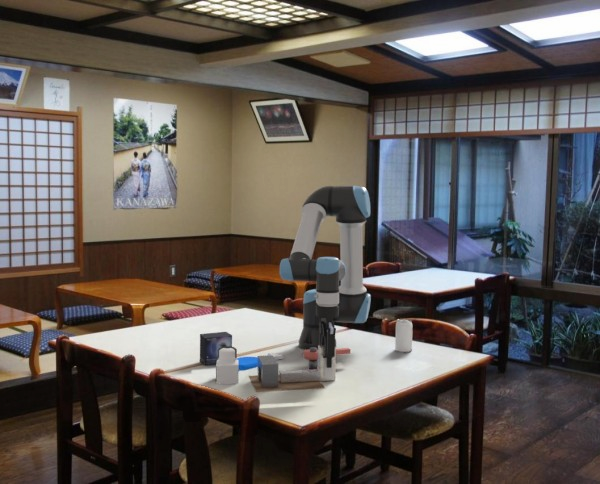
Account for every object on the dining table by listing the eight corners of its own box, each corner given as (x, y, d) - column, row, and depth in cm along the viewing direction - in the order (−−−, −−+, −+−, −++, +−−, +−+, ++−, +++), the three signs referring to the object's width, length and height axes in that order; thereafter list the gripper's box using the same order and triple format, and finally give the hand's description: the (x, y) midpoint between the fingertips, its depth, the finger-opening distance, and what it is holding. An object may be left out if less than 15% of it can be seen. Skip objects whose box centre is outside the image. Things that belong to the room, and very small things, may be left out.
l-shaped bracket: (279, 379, 225) (279, 346, 224) (332, 377, 228) (332, 344, 227) (281, 383, 221) (281, 349, 220) (335, 380, 225) (335, 347, 224)
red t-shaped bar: (308, 360, 233) (308, 351, 233) (299, 355, 240) (299, 346, 239) (353, 355, 240) (353, 346, 240) (344, 351, 247) (344, 342, 246)
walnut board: (248, 378, 230) (248, 375, 230) (312, 375, 234) (312, 372, 234) (256, 395, 212) (256, 391, 212) (325, 391, 217) (325, 388, 217)
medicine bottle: (216, 380, 228) (216, 345, 226) (238, 380, 228) (238, 344, 227) (216, 387, 220) (215, 350, 219) (238, 386, 221) (238, 350, 220)
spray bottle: (244, 366, 236) (289, 353, 255) (221, 361, 242) (267, 349, 262) (244, 374, 236) (289, 361, 255) (221, 369, 243) (266, 357, 262)
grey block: (257, 378, 227) (257, 356, 226) (272, 377, 228) (272, 355, 227) (262, 388, 216) (262, 364, 215) (278, 387, 217) (278, 364, 216)
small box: (205, 366, 245) (205, 337, 244) (199, 362, 251) (198, 333, 250) (232, 363, 250) (232, 334, 249) (226, 358, 256) (226, 331, 255)
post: (307, 371, 240) (308, 356, 239) (316, 370, 240) (316, 356, 240) (309, 373, 237) (309, 358, 236) (318, 373, 237) (318, 358, 237)
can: (411, 352, 267) (412, 322, 265) (394, 351, 268) (395, 321, 267) (412, 348, 273) (412, 319, 272) (395, 348, 274) (396, 318, 273)
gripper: (310, 300, 231) (310, 368, 233) (322, 309, 215) (321, 382, 217) (332, 299, 233) (331, 367, 235) (345, 308, 216) (344, 381, 218)
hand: (326, 374), depth 226 cm, fingers closed on l-shaped bracket, 4 cm apart
